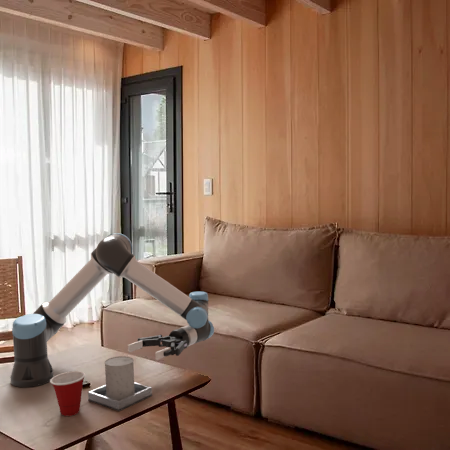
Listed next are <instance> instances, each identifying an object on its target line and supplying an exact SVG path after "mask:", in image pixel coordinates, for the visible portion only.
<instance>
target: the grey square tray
mask: <svg viewBox="0 0 450 450" xmlns="http://www.w3.org/2000/svg"><path fill="white" fill-rule="evenodd" d="M134 392H135V394H133V395H131V396H128V397H126V398H124V399H122V400H120V401H117V400H115V399H112V398H109V397H106V384H103V385H102V386H99V387H96V388H94V389H92V390H89V391H87V399H88V401H89V402H92V403H95V404H97V405H100V406H103V407H106V408H109V409H111V410H114V411H117V412H120V411H123V410H124V409H125V410H126V409H127V408H129V407H131V406H134V405H135V404H138V403H139V402H142V401H145V400H146V399H148V398H150V397H152V396H153V388H152V386H148V385H146V384H142V383H138V382H136V381H134Z"/></svg>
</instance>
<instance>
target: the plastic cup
mask: <svg viewBox="0 0 450 450" xmlns="http://www.w3.org/2000/svg"><path fill="white" fill-rule="evenodd" d="M85 376H86V373H85V372H83V371H80V370H74V371H67V372H62V373H59V374H57V375H54V377H53V378H52V379H51V380H50V381H49V383H50V384H51V385H52V387H53V390H54V392H55V396H56V397H55V398H56V401H57V404H58V408H59V412H60V415H61V416H63V415H64V417H72V416H75V415H77V414H79V413H80V410H81V402H82V393H83V386H84V380H85V379H84V378H85Z"/></svg>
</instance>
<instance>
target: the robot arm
mask: <svg viewBox="0 0 450 450" xmlns="http://www.w3.org/2000/svg"><path fill="white" fill-rule="evenodd" d="M113 274H114V275H115V276H117V277H118V278H125V279H126V280H128V281H129V282H130V283H132V284H133V285H135V286H136V287H138V288H139V289H141V290H142V291H143V292H144V293H146V294H148V295H149V296H150V297H152V298H153V299H155V300H156V301H158V302H159V303H161V304H162V305H164V306H165V307H166V308H168V309H169V310H171V311H172V312H174V313H175V314H177V315H178V316H180V318H183V319H184V320H185V321H186V323H187V325H185V326H181V327H179V328H175V329H173V330H172V331H171V332H169V335H165V336H163V335H162V334H158V335H153V336H145V337H137V341H135V342H132V343H130V344H127V352H128V353H132V352H136V351H137V350H142V349H143V348H144V347H158V348H159V347H160V348H162V347H165V348H163V349H160V350H157V351H155V352H154V355H155V356H154V357H155V358H154V360H155V361H159V360H162V359H164V358H166V357H169V356H176V357H178V356H180V355H181V354H182V352H183V351H184V350H186V349H188V348H189V347H190V346H192V345H196V344H197V343H201V342H204V341H206V340H208V339H210V338H211V337H212V336H213V335H214V333H215V327H214V324H213V322H212V321H210V319H209V295H208V292H206V291H192V292H190V293H189V295H187V294H186V293H184V292H183V291H181V290H180V289H178V288H177V287H176V286H174V285H173V284H171V283H170V282H169V281H167V280H165V279H164V278H162V277H161V276H159V275H158V274H157V273H155V272H154V271H153V270H151V269H149V268H148V267H147V266H145V265H144V264H143V263H141V262H139V261H138V260H137V259H136V255H134V254H133V243H132V241H131V240H130V238H129V237H128V236H126V235H125V234H122V233H121V232H120V233H119V232H116V233H115V232H114V233H111V234H109V235H107V236H106V237H105V238H103V239H101V240H100V241H99V242H98V244H97V246H96V247H95V249H93V251H92V252H91V253H90V259H89V261H87V262H86V263H85V265H84V266H82V268H80V270H78V272H76V274H75V275H74V276H73V277H71V279H70V280H69V281H68V282H67V283H66V284H65V285H64V286H63V287H62V288H61V290H59V292H57V294H56V295H55V296H54V297H52V299H51V300H50V301H44V302H43V303H42V304H41V305H39V307H38V308H37V309H36V310H35V311H33V313H29V314H24V315H22V316H21V315H20V316H19V317H17V318H16V319H14V320H13V323H12V328H11V329H12V330H11V332H12V341H13V342H12V343H13V345H12V346H13V356H14V358H13V359H14V362H13V366H12V370H11V374H10V376H9V377H10V378H9V379H10V384H11V385H12V386H14V387H18V388H32V387H38V386H41V385H46V384H47V383H50V380H51V379H52V378H53V377H54V376H55V375H54V373H55V372H54V369H53V367H52V364H51V362H50V359H49V356H48V342H49V340H51V338H52V337H54V336H55V335H56V334H57V333H58V331H60V329H61V328H62V327H63V326H64V325H65V324H66V323H67V316H68V315H69V314H70V313H71V312H72V311H73V310H74V309H75V308H77V306H78V305H79V304H80V303H81V302H82V301H83V300H84V299H85V298H86V297H87V296H88V295H89V293H91V291H93V290H94V288H95V287H97V285H98V284H99V283H100V282H101V281H102V280H104V278H105V277H106V276H107V275H113Z"/></svg>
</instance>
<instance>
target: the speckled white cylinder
mask: <svg viewBox="0 0 450 450" xmlns="http://www.w3.org/2000/svg"><path fill="white" fill-rule="evenodd" d="M134 360H135V359H134V358H133V357H130V356H125V355H124V356H123V355H122V356H113V357H110V358H108V359H105V360H104V370H105V372H104V373H105V385H106V397H109V398H112V399H115V400H117V401H120V400H122V399H124V398H126V397H128V396H131V395H133V394H135V392H134V382H135V371H134Z"/></svg>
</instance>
